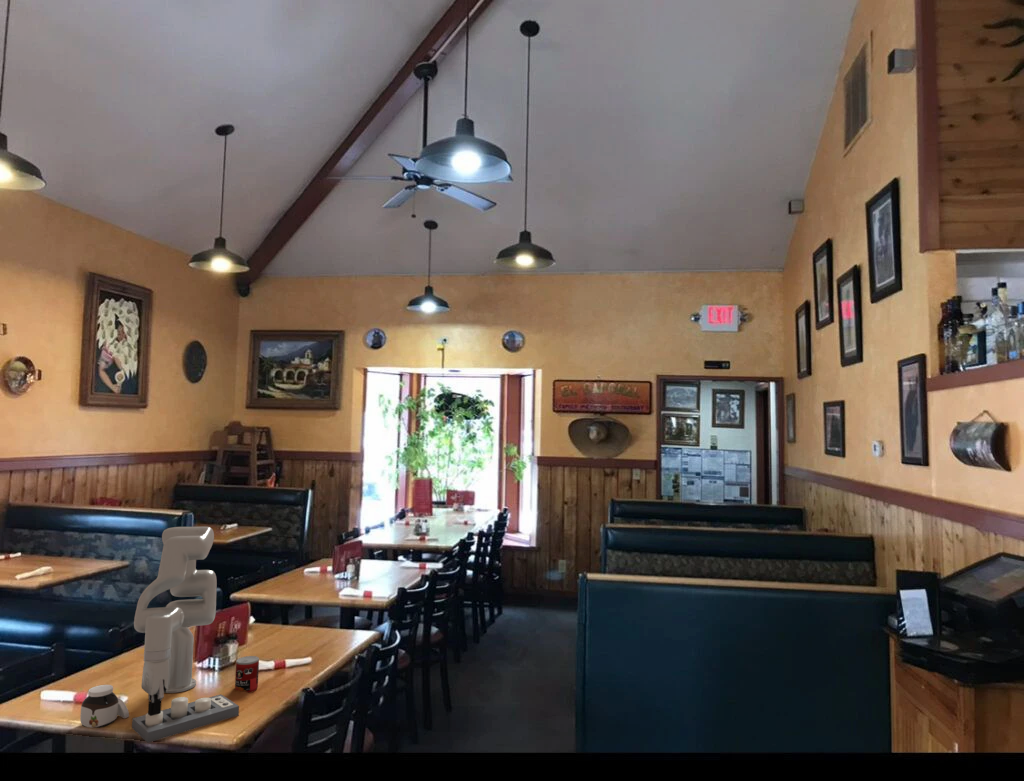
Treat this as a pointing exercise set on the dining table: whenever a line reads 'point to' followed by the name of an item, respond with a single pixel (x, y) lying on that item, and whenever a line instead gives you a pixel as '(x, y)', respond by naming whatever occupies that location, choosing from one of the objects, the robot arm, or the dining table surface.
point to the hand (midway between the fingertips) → (154, 713)
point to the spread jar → (102, 707)
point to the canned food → (247, 674)
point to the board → (186, 719)
